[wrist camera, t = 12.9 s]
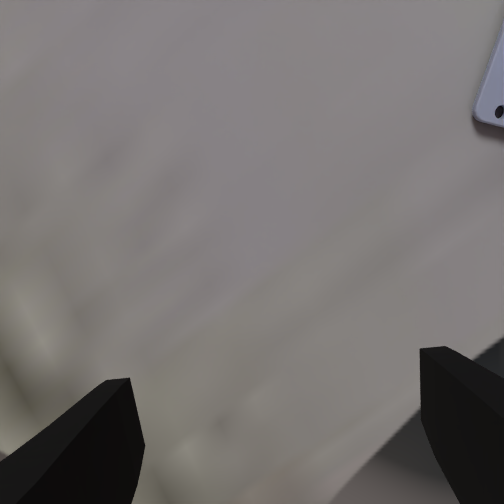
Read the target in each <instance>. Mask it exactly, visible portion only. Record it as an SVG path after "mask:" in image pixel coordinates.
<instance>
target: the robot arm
mask: <svg viewBox="0 0 504 504" xmlns="http://www.w3.org/2000/svg"><path fill="white" fill-rule="evenodd" d="M498 106H502V107H503V109H504V20H503V23H502V26H501V29H500V31H499V34H498V37H497V40H496V43H495V45H494V48H493V51H492V54H491V57H490V59H489V62H488V65H487V68H486V70H485V73H484V76H483V79H482V82H481V84H480V87H479V90H478V93H477V96H476V98H475V101H474V104H473V108H472V113H473V116H474V118H475V119H476V120H477V121H479V122H483V123H487V124H491V125H495V126H499V127H502V128H504V112H503V115H502V116H501V117H500V118H496V116H495V110H496V108H497V107H498ZM420 394H421V421H422V424H423V427H424V429H425V432H426V435H427V437H428V440H429V443H430V445H431V448H432V450H433V453H434V455H435V458H436V460H437V462H438V463H439V465H440V467H441V469H442V471H443V473H444V475H445V477H446V478H447V480H448V482H449V484H450V486H451V488H452V490H453V491H454V493H455V495H456V497H457V499H458V501H459V503H460V504H504V378H502V377H500V376H498V375H497V374H495V373H493V372H491V371H489V370H488V369H486V368H484V367H482V366H481V365H479V364H477V363H476V362H474V361H472V360H470V359H469V358H467V357H465V356H463V355H461V354H460V353H458V352H456V351H454V350H452V349H450V348H448V347H446V346H441V347H431V348H421V349H420ZM144 449H145V443H144V438H143V434H142V430H141V425H140V421H139V416H138V412H137V407H136V403H135V398H134V394H133V390H132V385H131V381H130V378H122V379H112V380H106V381H104V382H103V383H101V384H100V385H98V386H97V387H96V388H94V389H93V390H92V391H91V392H89V393H88V394H87V395H86V396H84V397H83V398H82V399H81V400H80V401H78V402H77V403H76V404H75V405H73V406H72V407H71V408H70V409H69V410H67V411H66V412H65V413H64V414H62V415H61V416H60V417H59V418H57V419H56V420H55V421H54V422H53V423H51V424H50V425H49V426H48V427H46V428H45V429H44V430H42V431H41V432H40V433H38V434H37V435H36V436H34V437H33V438H32V439H30V440H29V441H28V442H26V443H25V444H24V445H22V446H21V447H20V448H18V449H17V450H16V451H14V452H13V453H12V454H10V455H9V456H8V457H6V458H5V459H3V460H2V461H1V462H0V504H131V503H132V500H133V497H134V494H135V491H136V488H137V485H138V480H139V475H140V471H141V466H142V460H143V455H144Z"/></svg>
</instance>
